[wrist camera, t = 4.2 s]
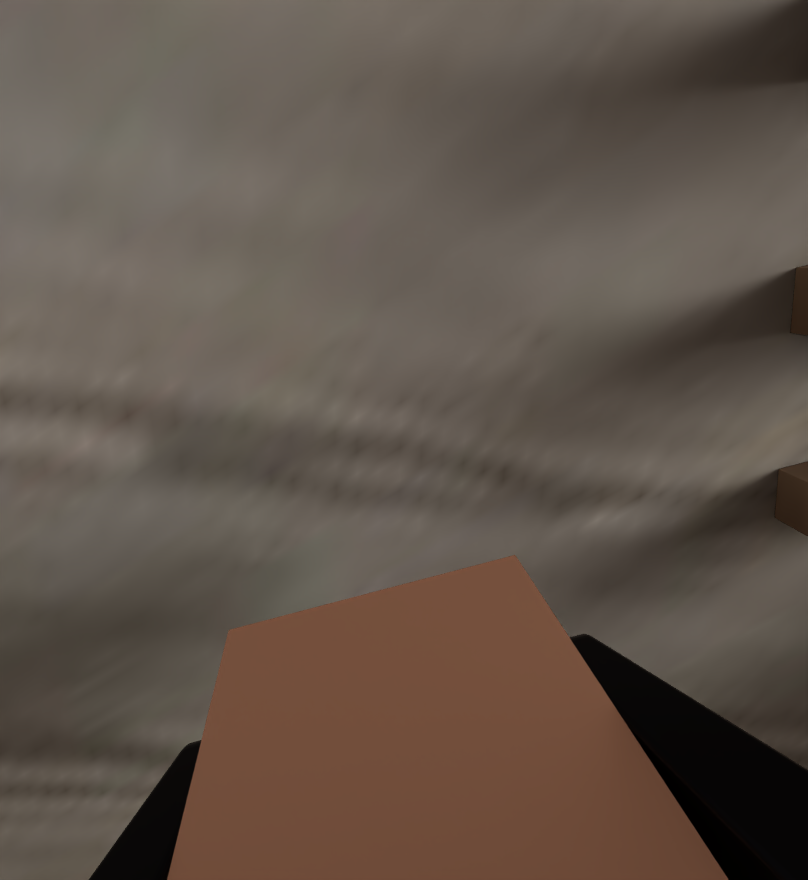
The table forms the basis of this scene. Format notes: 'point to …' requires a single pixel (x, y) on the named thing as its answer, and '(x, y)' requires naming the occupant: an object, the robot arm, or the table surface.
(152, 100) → the table surface
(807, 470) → the domino
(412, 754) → the domino
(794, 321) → the domino
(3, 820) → the table surface
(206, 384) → the table surface
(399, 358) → the table surface
